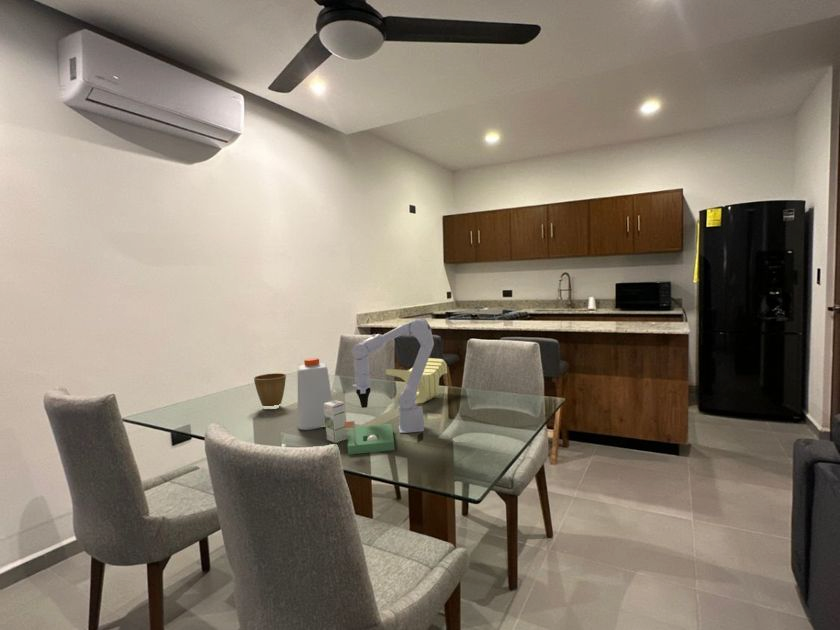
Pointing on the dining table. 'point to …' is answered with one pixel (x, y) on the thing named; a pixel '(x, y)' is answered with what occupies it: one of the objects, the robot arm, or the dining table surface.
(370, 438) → the ball
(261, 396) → the plant pot
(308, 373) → the plastic bottle
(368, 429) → the green slotted block
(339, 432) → the syrup box
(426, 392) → the slatted curved stool
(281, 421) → the dining table surface
